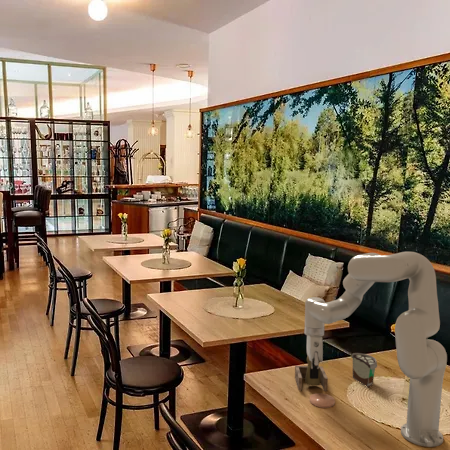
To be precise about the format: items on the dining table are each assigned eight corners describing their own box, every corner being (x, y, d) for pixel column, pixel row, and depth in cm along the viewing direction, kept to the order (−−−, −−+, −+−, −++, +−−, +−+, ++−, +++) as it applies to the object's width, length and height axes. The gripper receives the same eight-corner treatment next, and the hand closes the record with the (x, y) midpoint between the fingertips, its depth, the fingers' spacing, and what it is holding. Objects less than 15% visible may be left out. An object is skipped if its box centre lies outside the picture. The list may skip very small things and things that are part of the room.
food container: (382, 386, 187) (384, 362, 186) (369, 389, 185) (371, 364, 184) (362, 374, 199) (364, 351, 197) (350, 376, 196) (351, 352, 195)
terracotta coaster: (337, 408, 170) (337, 405, 170) (311, 407, 170) (311, 404, 170) (331, 396, 179) (332, 393, 179) (307, 395, 179) (308, 392, 179)
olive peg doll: (309, 386, 182) (310, 358, 181) (302, 379, 188) (303, 352, 186) (323, 384, 184) (324, 357, 182) (316, 378, 189) (317, 351, 188)
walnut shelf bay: (327, 391, 183) (327, 378, 182) (298, 390, 183) (299, 377, 182) (321, 378, 194) (322, 366, 193) (294, 377, 194) (295, 365, 193)
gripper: (328, 337, 175) (326, 385, 177) (320, 323, 192) (318, 367, 194) (307, 337, 175) (306, 385, 177) (301, 323, 192) (300, 367, 194)
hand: (313, 375), depth 185 cm, fingers closed on olive peg doll, 4 cm apart
